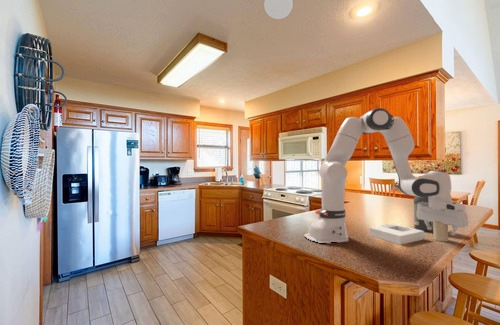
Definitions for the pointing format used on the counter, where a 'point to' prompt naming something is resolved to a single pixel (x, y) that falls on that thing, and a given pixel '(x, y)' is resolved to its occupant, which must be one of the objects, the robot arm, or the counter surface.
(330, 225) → the robot arm
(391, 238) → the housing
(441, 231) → the candle
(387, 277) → the counter surface
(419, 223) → the liquor
